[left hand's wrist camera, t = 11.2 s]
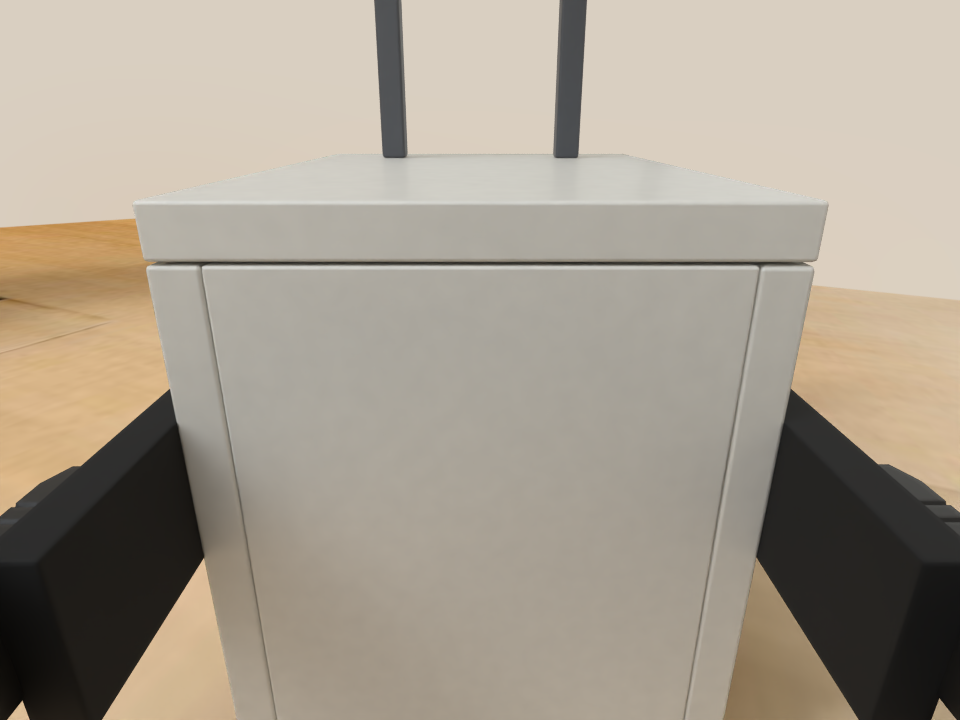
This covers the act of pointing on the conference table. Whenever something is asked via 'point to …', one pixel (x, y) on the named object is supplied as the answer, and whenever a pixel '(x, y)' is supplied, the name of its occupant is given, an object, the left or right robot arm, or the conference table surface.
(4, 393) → the conference table surface
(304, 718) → the chest
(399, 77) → the lid
